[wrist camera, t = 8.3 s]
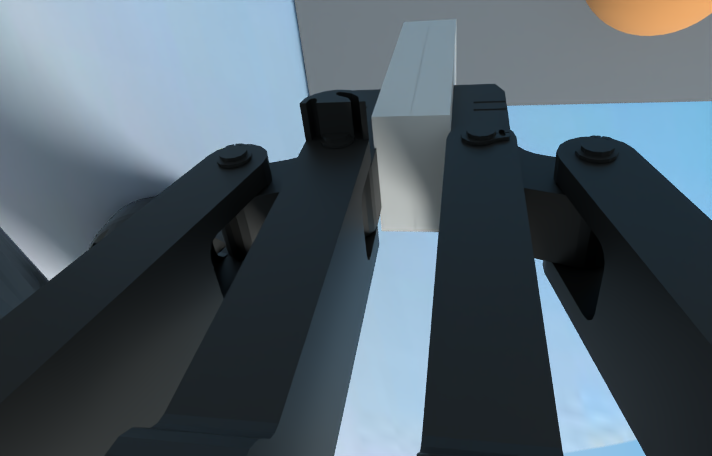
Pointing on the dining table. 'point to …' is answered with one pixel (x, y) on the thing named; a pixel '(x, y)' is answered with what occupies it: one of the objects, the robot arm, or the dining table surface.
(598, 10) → the ball
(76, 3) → the dining table surface
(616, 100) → the mat
